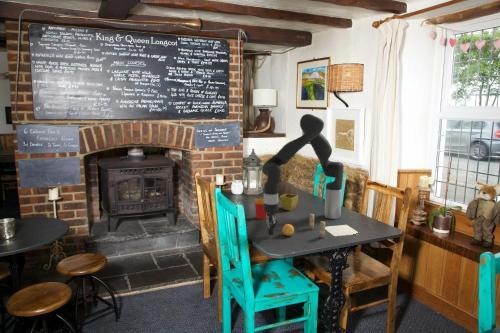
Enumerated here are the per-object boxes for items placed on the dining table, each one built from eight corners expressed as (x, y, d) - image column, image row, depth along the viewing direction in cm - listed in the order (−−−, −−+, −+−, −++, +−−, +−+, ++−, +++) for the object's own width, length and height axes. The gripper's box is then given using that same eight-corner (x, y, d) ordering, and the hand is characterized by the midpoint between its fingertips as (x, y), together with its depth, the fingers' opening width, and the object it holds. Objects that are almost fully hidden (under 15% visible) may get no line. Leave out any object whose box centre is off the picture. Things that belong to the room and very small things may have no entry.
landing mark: (321, 227, 217) (321, 226, 217) (346, 225, 220) (346, 224, 220) (334, 236, 202) (334, 236, 202) (360, 234, 206) (360, 233, 206)
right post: (318, 236, 202) (319, 221, 201) (323, 236, 203) (323, 221, 202) (320, 238, 200) (321, 223, 198) (325, 237, 200) (326, 222, 199)
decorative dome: (285, 199, 276) (285, 185, 274) (265, 194, 291) (266, 181, 289) (303, 195, 288) (304, 181, 287) (284, 190, 303) (284, 177, 301)
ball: (280, 233, 206) (280, 222, 205) (291, 232, 207) (291, 222, 206) (284, 237, 200) (284, 226, 199) (295, 236, 202) (295, 225, 201)
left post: (308, 228, 215) (308, 214, 214) (312, 227, 216) (313, 213, 214) (310, 229, 213) (310, 215, 211) (314, 229, 213) (315, 215, 212)
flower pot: (291, 212, 245) (291, 198, 243) (279, 209, 250) (279, 196, 249) (298, 209, 252) (298, 195, 250) (286, 206, 257) (286, 193, 255)
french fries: (268, 216, 235) (268, 197, 233) (268, 218, 231) (269, 199, 229) (254, 217, 235) (254, 197, 233) (254, 219, 231) (254, 199, 229)
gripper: (282, 204, 193) (281, 238, 196) (274, 198, 205) (273, 229, 208) (267, 205, 191) (267, 239, 194) (260, 199, 204) (259, 231, 207)
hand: (270, 234), depth 201 cm, fingers closed
